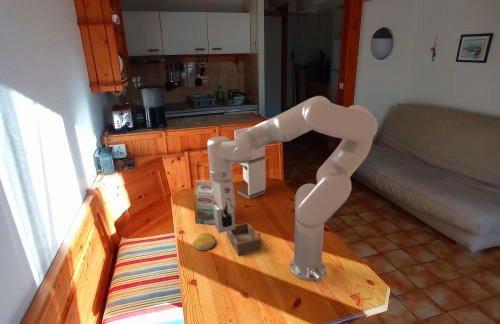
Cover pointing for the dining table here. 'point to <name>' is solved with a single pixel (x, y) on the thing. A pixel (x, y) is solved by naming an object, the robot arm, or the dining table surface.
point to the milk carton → (204, 203)
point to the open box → (244, 239)
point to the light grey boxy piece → (253, 172)
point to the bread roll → (204, 241)
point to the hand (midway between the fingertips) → (225, 222)
